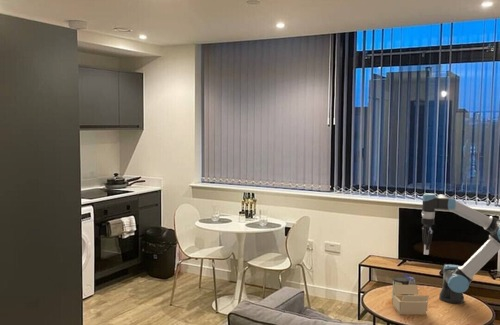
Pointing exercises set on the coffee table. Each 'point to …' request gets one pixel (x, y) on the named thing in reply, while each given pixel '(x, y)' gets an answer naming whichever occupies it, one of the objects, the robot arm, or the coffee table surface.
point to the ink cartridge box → (410, 281)
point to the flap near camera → (415, 298)
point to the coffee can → (399, 283)
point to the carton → (409, 306)
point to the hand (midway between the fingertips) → (426, 254)
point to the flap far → (405, 289)
